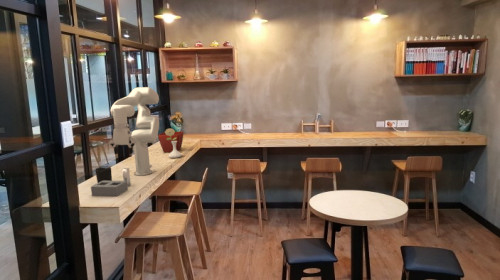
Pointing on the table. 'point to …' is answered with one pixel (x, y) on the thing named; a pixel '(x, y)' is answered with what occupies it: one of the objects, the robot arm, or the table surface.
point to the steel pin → (126, 176)
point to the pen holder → (103, 174)
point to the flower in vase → (174, 153)
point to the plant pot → (167, 144)
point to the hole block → (109, 188)
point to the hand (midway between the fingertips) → (123, 153)
